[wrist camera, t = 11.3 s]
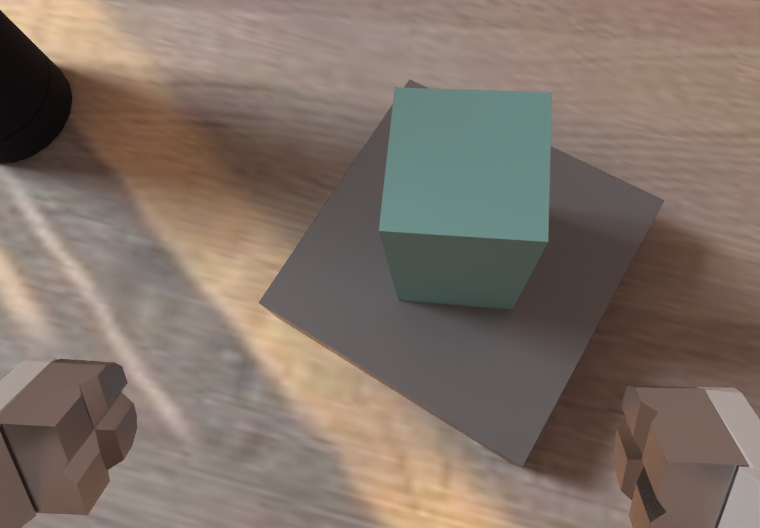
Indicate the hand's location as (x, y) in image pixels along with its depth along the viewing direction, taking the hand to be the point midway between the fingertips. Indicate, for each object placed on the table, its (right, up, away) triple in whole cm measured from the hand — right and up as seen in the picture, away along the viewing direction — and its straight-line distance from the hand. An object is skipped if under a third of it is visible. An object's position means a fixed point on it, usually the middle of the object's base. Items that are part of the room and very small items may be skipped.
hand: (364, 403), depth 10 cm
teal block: (+3, +3, +14) cm, 15 cm away
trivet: (+4, +2, +17) cm, 18 cm away
